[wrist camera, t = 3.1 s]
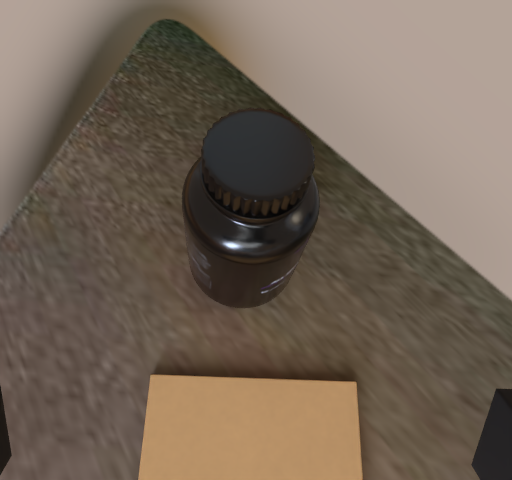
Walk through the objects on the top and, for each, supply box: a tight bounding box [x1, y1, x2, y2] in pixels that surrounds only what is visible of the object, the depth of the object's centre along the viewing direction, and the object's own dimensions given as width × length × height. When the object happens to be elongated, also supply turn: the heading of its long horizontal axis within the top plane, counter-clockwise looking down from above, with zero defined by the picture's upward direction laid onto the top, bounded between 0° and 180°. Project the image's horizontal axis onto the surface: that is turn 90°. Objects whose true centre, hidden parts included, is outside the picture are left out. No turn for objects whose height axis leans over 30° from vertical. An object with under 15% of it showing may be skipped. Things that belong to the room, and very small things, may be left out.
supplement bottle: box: [182, 108, 320, 308], centre depth 24 cm, size 7×7×12 cm
